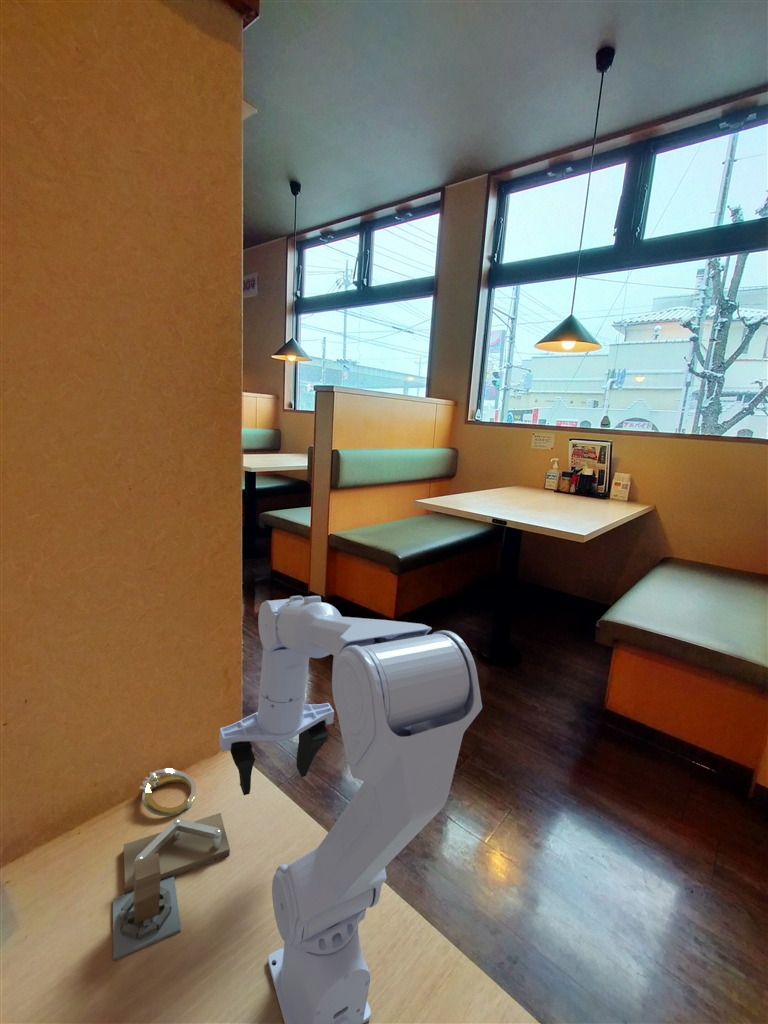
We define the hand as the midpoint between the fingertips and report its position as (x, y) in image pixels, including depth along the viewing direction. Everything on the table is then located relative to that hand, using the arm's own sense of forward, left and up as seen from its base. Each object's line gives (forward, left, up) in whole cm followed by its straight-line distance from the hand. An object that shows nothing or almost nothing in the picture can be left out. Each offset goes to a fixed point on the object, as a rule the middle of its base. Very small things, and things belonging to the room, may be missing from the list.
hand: (274, 779), depth 60 cm
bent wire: (+4, +11, -10) cm, 16 cm away
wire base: (+4, +11, -10) cm, 16 cm away
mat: (-3, +15, -10) cm, 18 cm away
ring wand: (-3, +15, -10) cm, 18 cm away
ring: (+10, +8, -10) cm, 16 cm away
